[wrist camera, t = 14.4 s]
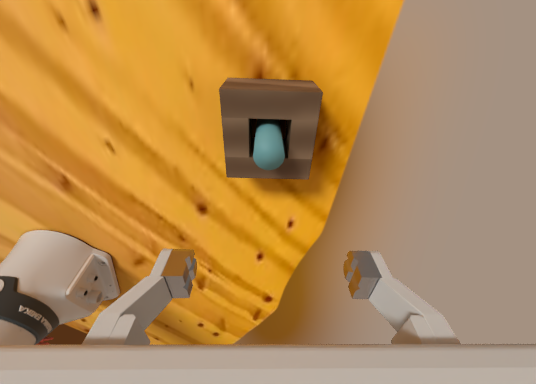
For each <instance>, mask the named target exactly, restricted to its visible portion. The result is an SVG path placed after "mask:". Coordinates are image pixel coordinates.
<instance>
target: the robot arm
mask: <svg viewBox="0 0 536 384" xmlns="http://www.w3.org/2000/svg"><path fill="white" fill-rule="evenodd" d="M194 255H195V253H194V250H190V249H163V250H162V251H161V252H160V254H159V257H158V259H157V261H156V263H155V265H154V267H153V269H152V271H151V274H150V276H146V277H145V278H144V279H142V280H141V281H140V282H139V283H137V284H136V285H135V286H134V287H132V288H131V289H130V290H129V291H127V292H126V293H125V294H124V295H122V296H121V297H120V298H119V299H117V300H116V301H115V302H114V303H112V304H111V305H110V306H109V307H107V308H106V309H105V310H104V311H102V312H101V313H100V314H99V316H98V318H97V319H96V321H95V323H94V324H93V326H92V328H91V330H90V331H89V333H88V335H87V337H86V338H85V340H84V342H83V343H82V345H48V344H49V343H46V342H43V341H44V340H51V339H53V337H46V336H47V335H48V334H49V333H50V332H51V331H52V330H54V329H55V328H56V327H57V326H58V325H60V324H63V323H66V322H70V321H73V320H77V319H81V318H84V317H87V316H89V315H91V314H92V313H93V312H95V311H96V309H97V308H98V307H99V305H100V304H101V302H102V301H104V300H110V299H114V298H116V297H118V296H119V294H120V289H119V286H118V282H117V278H116V274H115V270H114V267H113V263H112V259H111V256H110V255H109V254H107V253H105V252H103V251H100V250H97V249H94V248H92V247H90V246H89V245H87V244H85V243H84V242H82V241H80V240H78V239H76V238H74V237H71V236H69V235H66V234H63V233H59V232H54V231H47V230H35V231H30V232H27V233H25V234H23V235H22V236H21V237H20V238H19V240H18V242H17V243H16V245H15V246H14V248H13V249H12V250H11V252H10V253H9V254H8V256H7V257H6V258H5V259H4V260H3V262H2V263H1V264H0V384H536V344H460V342H459V340H458V339H457V337H456V336H455V334H454V332H453V331H452V329H451V328H450V326H449V324H448V323H447V321H446V320H445V318H444V316H443V315H442V314H441V313H440V312H438V311H437V310H436V309H435V308H433V307H432V306H431V305H430V304H428V303H427V302H426V301H424V300H423V299H422V298H421V297H419V296H418V295H417V294H416V293H414V292H413V291H412V290H410V289H409V288H408V287H407V286H405V285H404V284H403V283H402V282H400V281H399V280H398V279H396V278H393V277H392V275H391V273H390V271H389V269H388V267H387V265H386V263H385V261H384V260H383V258H382V256H381V254H380V253H379V252H378V251H349V252H348V254H347V257H348V259H347V260H346V261H345V262H344V275H345V278H346V280H348V281H349V282H350V283H349V286H348V287H349V290H350V293H351V296H352V298H353V299H369V301H370V302H371V303H372V304H373V306H375V308H376V309H377V310H378V311H379V312H380V313H381V314H382V315H383V316H384V318H385V319H386V320H387V321H388V322H389V323H390V324H391V325H392V326H393V328H394V329H395V330H396V331H397V334H396V335H395V336H394V337H393V339H392V340H391V343H392V344H362V345H361V344H353V345H352V344H349V345H348V344H344V345H343V344H335V345H334V344H328V345H327V344H326V345H325V344H321V345H320V344H318V345H317V344H315V345H314V344H313V345H312V344H308V345H305V344H304V345H303V344H298V345H297V344H295V345H294V344H292V345H289V344H285V345H149V344H150V340H149V338H148V337H147V335H146V333H145V332H144V330H145V329H146V328H147V327H148V326H149V325H150V324H151V322H152V321H153V320H154V319H155V318H156V317H157V316H158V315H159V313H160V312H161V311H162V310H163V309H164V308H165V307H166V306H167V305H168V303H169V302H170V301H171V300H172V298H189V297H190V293H191V290H192V286H193V285H192V280H193V279H194V278H195V276H196V271H197V261H196V259H195V258H194Z"/></svg>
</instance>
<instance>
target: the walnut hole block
mask: <svg viewBox="0 0 536 384" xmlns="http://www.w3.org/2000/svg"><path fill="white" fill-rule="evenodd" d="M219 92H220V103H221V115H222V127H223V139H224V150H225V162H226V174H227V177H234V178H274V179H309V174H310V168H311V162H312V156H313V149H314V143H315V137H316V131H317V125H318V119H319V112H320V106H321V100H322V94H323V92H322V91H321V90H320V89H319V88H318V86H317V85H316V84H315V83H314V82H313V81H303V80H275V79H247V78H227V80H226V81H225V82H224V83H223V85H222V86H221V87H220V89H219ZM252 118H253V119H285V120H286V129H285V138H282V140H283V147H284V153H285V158H284V161H283V163H282V164H281V166H279V167H278V168H276V169H274V170H264V169H262V168H260V167H258V166H257V165H256V163H255V162H254V159H253V152H254V143H255V137H252Z"/></svg>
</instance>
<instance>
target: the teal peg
mask: <svg viewBox="0 0 536 384" xmlns="http://www.w3.org/2000/svg"><path fill="white" fill-rule="evenodd" d="M284 158H285V153H284V147H283V140H282V133H281V126H280V119H257V123H256V133H255V143H254V152H253V159H254V162H255V163H256V165H257V166H258V167H260V168H262V169H264V170H274V169H276V168H278V167H279V166H281V164H282V163H283V161H284Z"/></svg>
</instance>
